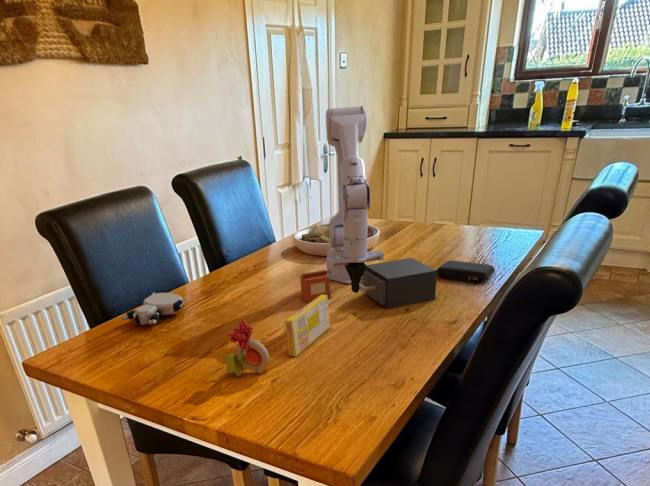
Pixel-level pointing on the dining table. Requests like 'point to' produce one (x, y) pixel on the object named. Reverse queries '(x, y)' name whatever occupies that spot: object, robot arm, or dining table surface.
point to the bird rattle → (254, 355)
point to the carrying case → (465, 271)
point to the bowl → (325, 239)
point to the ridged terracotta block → (314, 285)
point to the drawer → (373, 287)
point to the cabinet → (406, 281)
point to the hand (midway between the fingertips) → (355, 291)
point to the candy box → (307, 325)
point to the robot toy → (156, 308)
